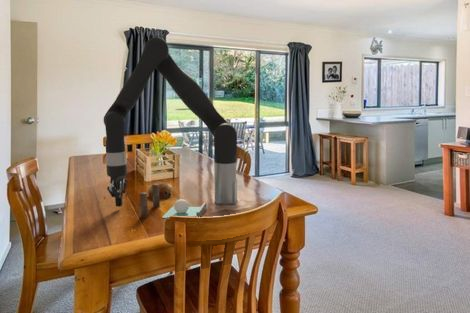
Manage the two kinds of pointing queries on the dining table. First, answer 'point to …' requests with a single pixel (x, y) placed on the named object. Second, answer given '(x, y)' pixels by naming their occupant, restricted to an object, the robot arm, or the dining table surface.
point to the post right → (156, 195)
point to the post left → (143, 205)
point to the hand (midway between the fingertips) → (119, 205)
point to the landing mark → (190, 212)
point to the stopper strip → (201, 210)
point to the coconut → (161, 191)
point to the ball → (181, 206)
